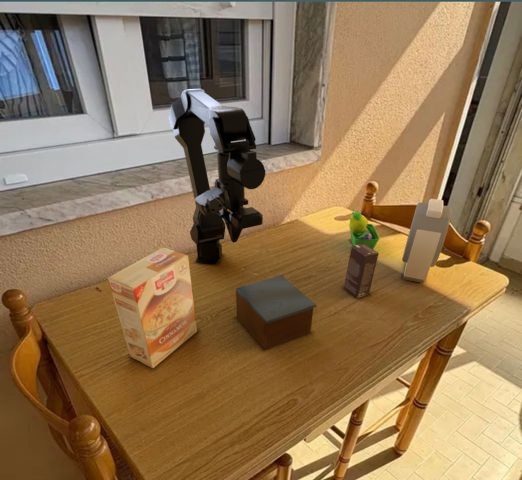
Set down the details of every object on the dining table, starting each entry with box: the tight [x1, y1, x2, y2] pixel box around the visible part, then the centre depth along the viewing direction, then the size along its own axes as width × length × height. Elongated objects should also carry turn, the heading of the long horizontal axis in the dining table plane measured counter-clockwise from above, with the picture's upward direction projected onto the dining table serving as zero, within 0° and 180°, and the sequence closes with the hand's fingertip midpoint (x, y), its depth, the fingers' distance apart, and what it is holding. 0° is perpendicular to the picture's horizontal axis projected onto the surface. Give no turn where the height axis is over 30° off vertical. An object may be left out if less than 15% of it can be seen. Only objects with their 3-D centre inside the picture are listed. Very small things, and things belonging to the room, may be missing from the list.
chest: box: [235, 290, 314, 350], centre depth 88 cm, size 13×12×8 cm
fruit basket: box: [348, 211, 380, 250], centre depth 118 cm, size 11×9×11 cm
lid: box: [235, 274, 317, 324], centre depth 85 cm, size 14×12×1 cm
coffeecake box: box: [107, 246, 198, 369], centre depth 78 cm, size 15×7×20 cm, turn 148°
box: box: [343, 244, 380, 299], centre depth 98 cm, size 6×4×12 cm
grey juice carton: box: [401, 198, 453, 284], centre depth 103 cm, size 18×8×20 cm, turn 158°
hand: (234, 241), depth 94 cm, fingers closed
